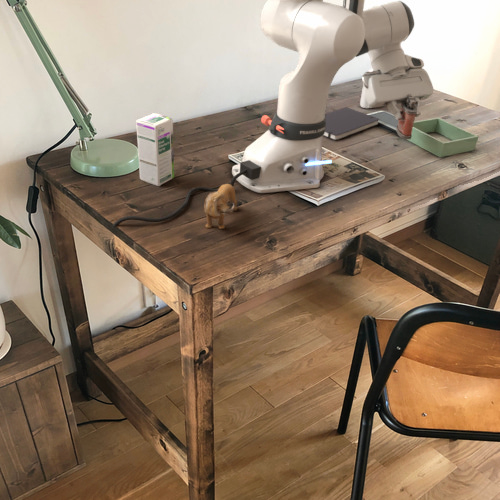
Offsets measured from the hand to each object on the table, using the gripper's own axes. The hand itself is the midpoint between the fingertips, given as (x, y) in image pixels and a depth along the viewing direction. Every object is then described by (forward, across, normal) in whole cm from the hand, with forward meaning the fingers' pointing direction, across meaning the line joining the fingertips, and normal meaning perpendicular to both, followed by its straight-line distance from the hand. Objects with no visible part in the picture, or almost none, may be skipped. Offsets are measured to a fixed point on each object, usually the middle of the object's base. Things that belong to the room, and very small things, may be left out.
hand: (408, 117), depth 149 cm
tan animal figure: (+16, -61, -3) cm, 63 cm away
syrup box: (0, -66, +13) cm, 68 cm away
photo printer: (-16, +17, +30) cm, 38 cm away
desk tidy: (+6, +14, +7) cm, 17 cm away
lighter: (+3, 0, +4) cm, 5 cm away
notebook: (-8, -4, +22) cm, 24 cm away
